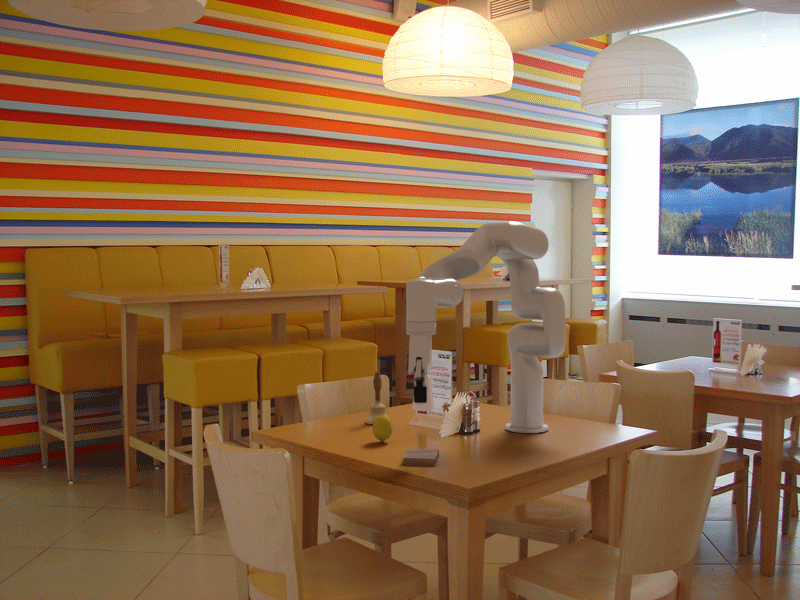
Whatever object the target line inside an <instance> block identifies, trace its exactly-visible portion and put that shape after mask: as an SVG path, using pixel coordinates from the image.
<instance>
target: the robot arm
mask: <svg viewBox="0 0 800 600" xmlns="http://www.w3.org/2000/svg"><path fill="white" fill-rule="evenodd" d="M549 243H550V242H549V239H548V236H547V234H546V233H545V232H544V231H543V230H542V229H540V228H538V227H534V226H532V225H531V226H530V225H528V224H524V223H521V222H518V221H494V222H487V223H486V222H485V223H483V224H481V225H480V226H479V227H478V228H477V229H476V230H475V231H473V233H472V234H471V235H470V237H468V239H467V240H465V241H464V243H463V244H462V245H461V246H459V248H458V249H457V250H456V251H453V252H451V253H449V254H447V255H446V256H444V257H441V258H439V259H438V260H436V261H434V262H433V263H431V264H430V265H428V266H427V267H425V269H423V270H422V272H420V274H418V276H417V277H416V278H415V279H409V280H408V281H407V283H406V286H405V294H406V297H405V298H406V299H405V301H406V302H405V303H406V304H405V305H406V306H405V307H406V311H405V312H406V315H405V316H406V317H405V319H406V320H405V321H406V322H405V323H406V326H405V327H406V329H405V330H406V331H405V333H406V335H407V336H409V342H408V343H409V344H408V367H407V368H408V369H407V370H408V371H407V372H408V374H409V375H410V376H411V375H413V373H414V375H413V376H414V382H413V383H414V384H413V397H414V402H415V403H426V402H427V387H426V374H428V375H429V373H430V371H431V370H432V355H433V353H432V352H433V351H432V349H433V347H432V346H433V343H432V341H433V338H432V336H434V335H437V308H453V307H455V306H457V305H459V304H460V303H461V302H462V300H463V298H464V293H465V292H464V288H463V285H462V284H461V283H460V282H459V281H460V280H464V279H468V278H470V277H473V276H476V275H479V273H481V272H482V271H483V270H484V268H485V267H486V266H487V265H488V264H489V263H490V262H491V260H492V259H493V258H494V257H495V255H496V256H497V257H498V258H499V259H500V260H501V261H502V262H503V264H504V265H505V266H506V268H507V270H508V275H509V284H510V285H509V286H510V287H509V288H510V306H511V313H512V314H513V316H514V317H516V318H518V319H521V320H533V321H535V320H536V321H542V323H543V324H539V323H517V324H514V325H513V326H512V327H511V328H510V329H509V331H508V332H507V339H506V341H507V348H508V352H509V359H510V360H509V361H510V422H507V423H505V429H506V430H507V431H508V432H513V433H519V434H539V433H540V432H541V433H544V432H547V431H549V425H548V424H546V423H544V370H543V369H544V368H543V366H542V363H541V362H540V360H539V358H548V359H549V358H550V359H555V358H559V357H560V356H562V355H563V353H564V352H565V349H566V347H567V346H566V345H567V325H566V324H567V323H566V321H567V319H566V304H565V303H566V302H565V299H564V297H563V294H562V293H561V291H560V290H558V289H556V288H554V287H541V286H540V275H539V269H538V265H537V263H536V262H535V261H534V260H539V259H541V258H543V257H544V256H545V255H546V254H547V252H548V250H549V247H550V246H549ZM538 357H539V358H538ZM421 372H424V374H421Z"/></svg>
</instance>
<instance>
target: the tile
mask: <svg viewBox="0 0 800 600" xmlns="http://www.w3.org/2000/svg"><path fill="white" fill-rule="evenodd" d="M439 458H440V449H439V448H438V449H436V448H407V450H406V452H405V453H404V455H403V457H402V465H403V464H411V465H410V466H425V465H430V467H431V466H432V467H434V466H435V467H436V465H437V462H438V460H439Z"/></svg>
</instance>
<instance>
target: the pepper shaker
mask: <svg viewBox="0 0 800 600" xmlns="http://www.w3.org/2000/svg"><path fill="white" fill-rule="evenodd" d="M421 374H424V372H421ZM426 387H427V402H426V403H415V402H414V396H413V398H412V410H413V411H416V412H429V411H433V410H434V409H435V408H434V405H435V404H434V397H433V387H432V377H431V375H429V373H428V374H426Z"/></svg>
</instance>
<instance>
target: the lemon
mask: <svg viewBox="0 0 800 600" xmlns="http://www.w3.org/2000/svg"><path fill="white" fill-rule="evenodd" d="M387 416H388V415H387ZM387 416H386V415H384V414H381V415H379V416H377V417H376V418H375V420H374V422H373V425H372V434H373V436H374V437H375V438H376V440H378V441H380V443H384V442H385V441H387V440H388V439H390V438H391V435H392V433H393V424H392V421H391V420H392V419H390V417H389V416H388V417H387Z"/></svg>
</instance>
